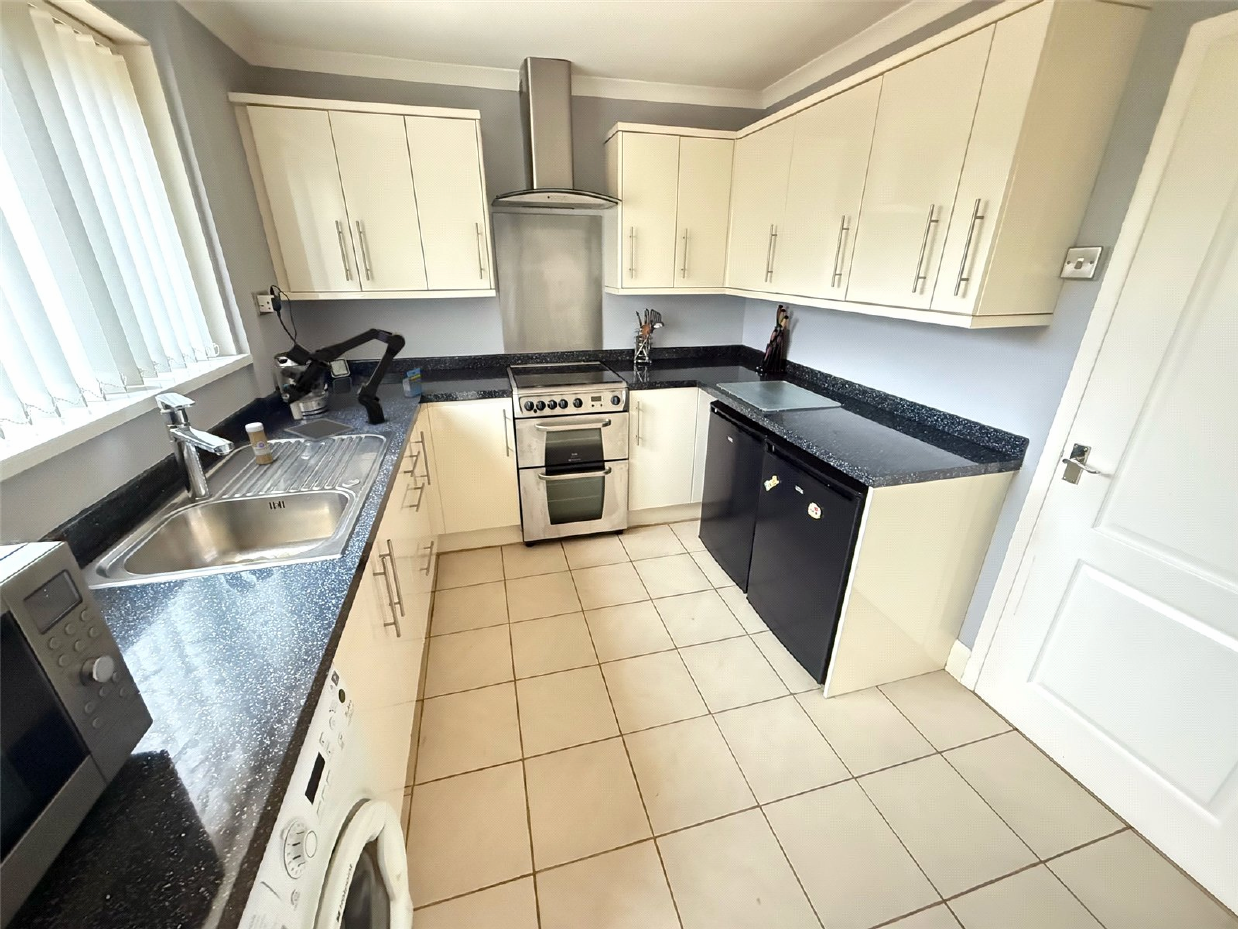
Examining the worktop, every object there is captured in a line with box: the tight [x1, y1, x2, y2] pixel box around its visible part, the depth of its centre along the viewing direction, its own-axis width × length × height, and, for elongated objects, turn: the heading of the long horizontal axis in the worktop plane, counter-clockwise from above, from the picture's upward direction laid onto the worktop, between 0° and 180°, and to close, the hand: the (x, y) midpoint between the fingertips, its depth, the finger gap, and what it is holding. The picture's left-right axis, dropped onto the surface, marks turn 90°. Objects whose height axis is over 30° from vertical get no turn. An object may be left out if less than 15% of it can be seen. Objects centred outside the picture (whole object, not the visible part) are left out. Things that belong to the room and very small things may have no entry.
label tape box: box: [402, 367, 424, 398], centre depth 236 cm, size 9×4×12 cm, turn 164°
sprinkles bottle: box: [245, 422, 274, 465], centre depth 162 cm, size 5×5×13 cm
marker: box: [283, 383, 304, 422], centre depth 191 cm, size 3×3×14 cm
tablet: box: [283, 418, 357, 443], centre depth 193 cm, size 22×16×1 cm
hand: (290, 402), depth 190 cm, fingers closed on marker, 3 cm apart
